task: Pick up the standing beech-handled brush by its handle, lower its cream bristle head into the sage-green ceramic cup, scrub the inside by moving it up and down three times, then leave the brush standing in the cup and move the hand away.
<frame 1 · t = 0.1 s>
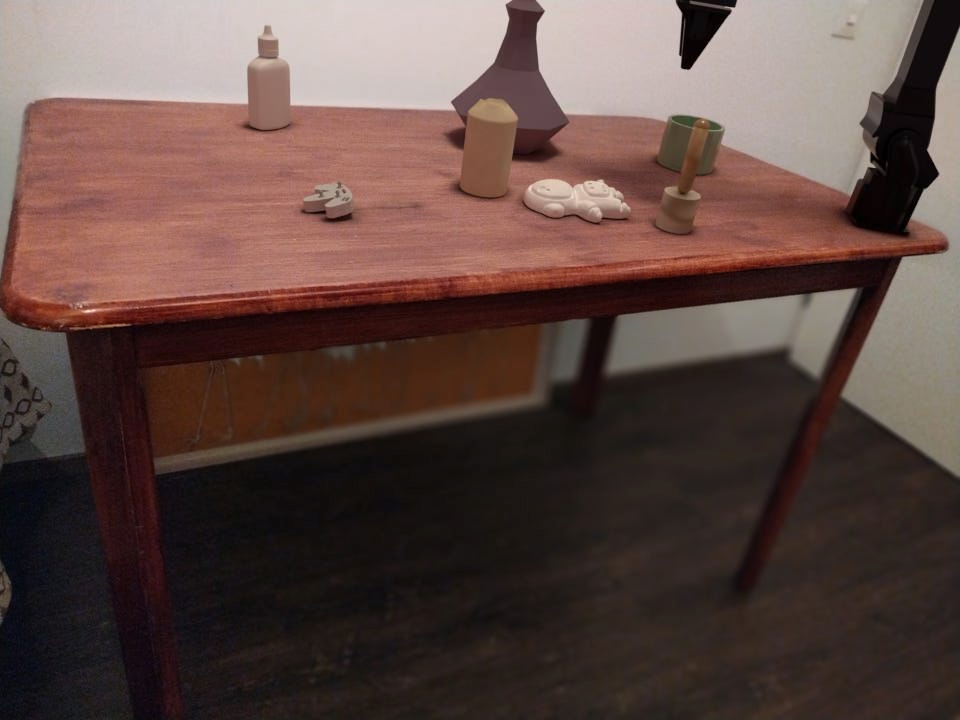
hand: (684, 62, 89), 15 cm above the table, tool pointing down, fingers open, 9 cm apart
purple faceted vase: (505, 144, 102), on the table
eye dropper bottle: (270, 127, 95), on the table
scrub cup: (684, 165, 104), on the table
astronaut figurine: (576, 209, 84), on the table
candle: (482, 190, 85), on the table
game controller: (362, 211, 75), on the table
brush: (672, 226, 83), on the table
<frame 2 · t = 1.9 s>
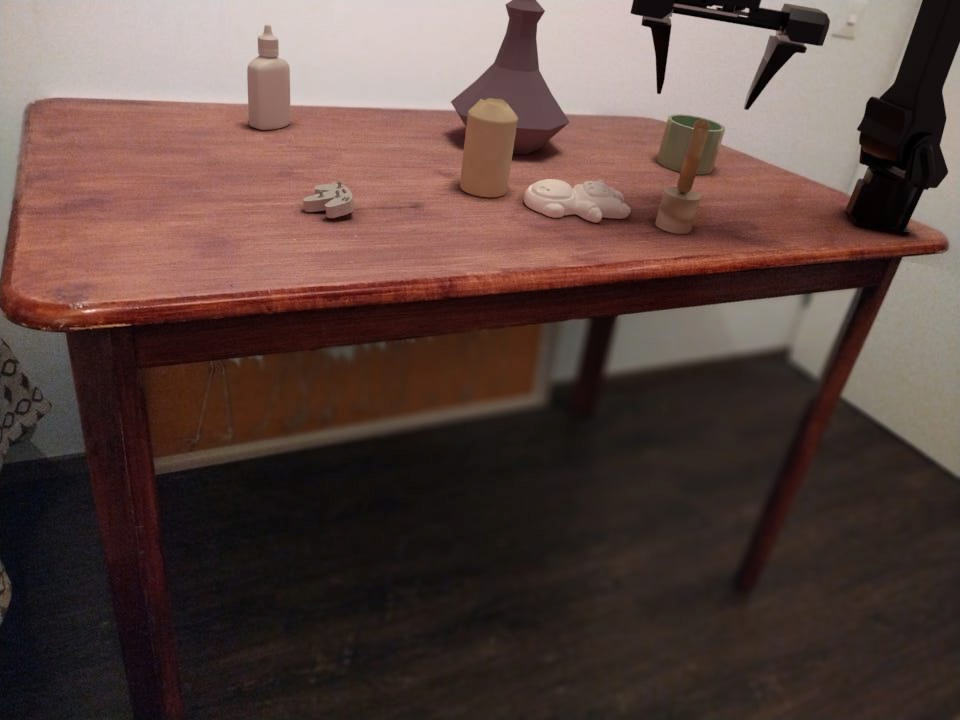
hand: (701, 101, 78), 13 cm above the table, tool pointing down, fingers open, 9 cm apart
nothing on the table moved.
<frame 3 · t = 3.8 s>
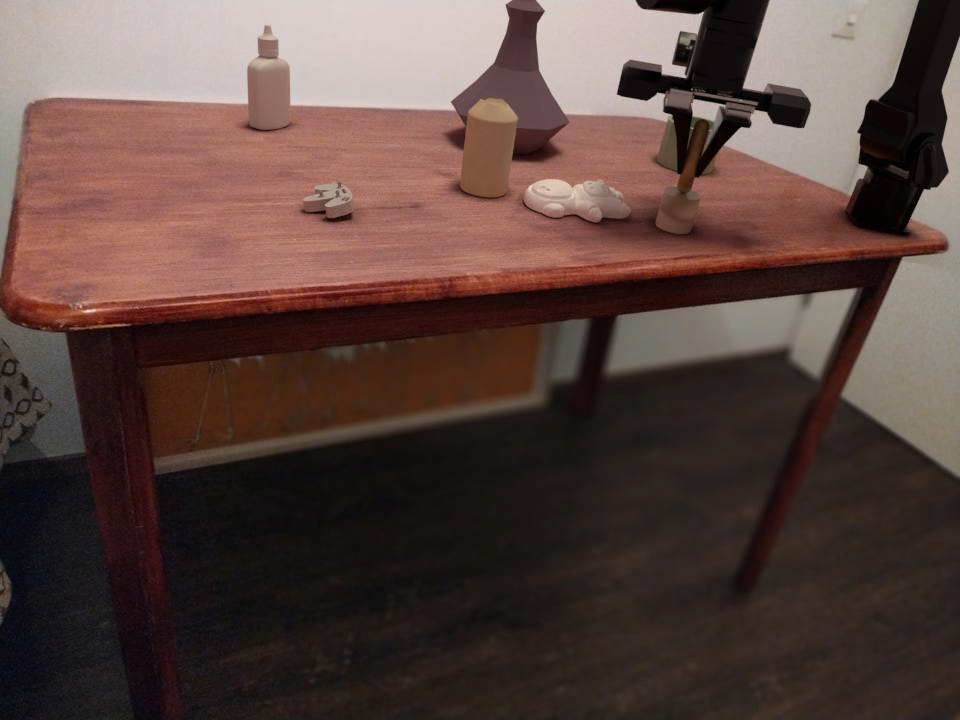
hand: (687, 174, 80), 6 cm above the table, tool pointing down, fingers closed on brush
brush: (672, 226, 83), on the table, touching gripper
everything else where it was.
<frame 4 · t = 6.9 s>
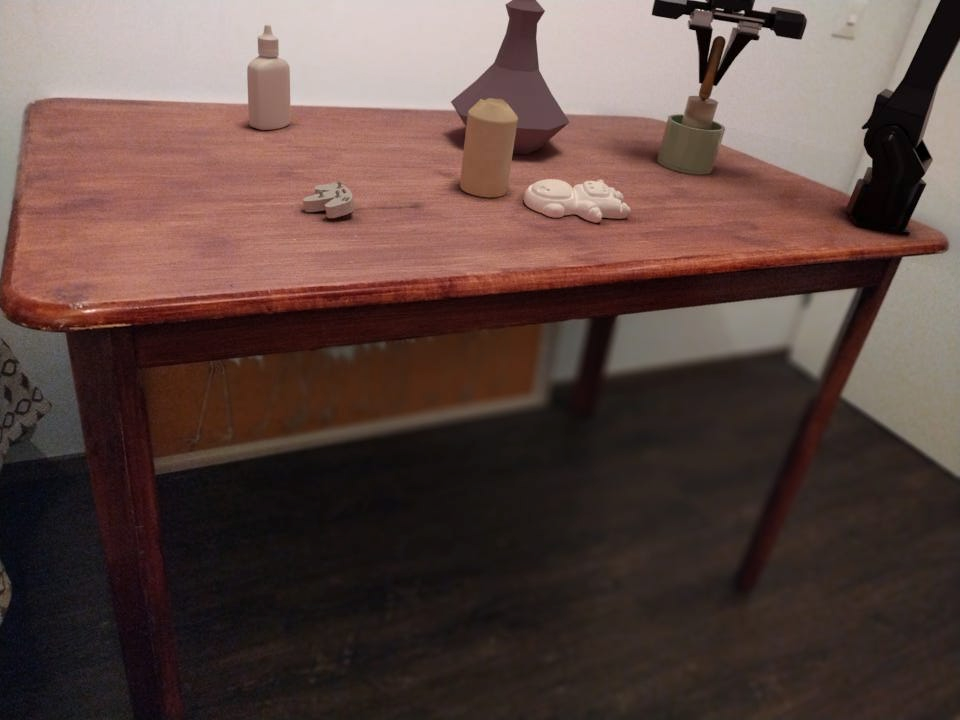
hand: (707, 84, 98), 11 cm above the table, tool pointing down, fingers closed on brush
brush: (694, 129, 101), point 5 cm above the table, touching gripper
everything else where it was.
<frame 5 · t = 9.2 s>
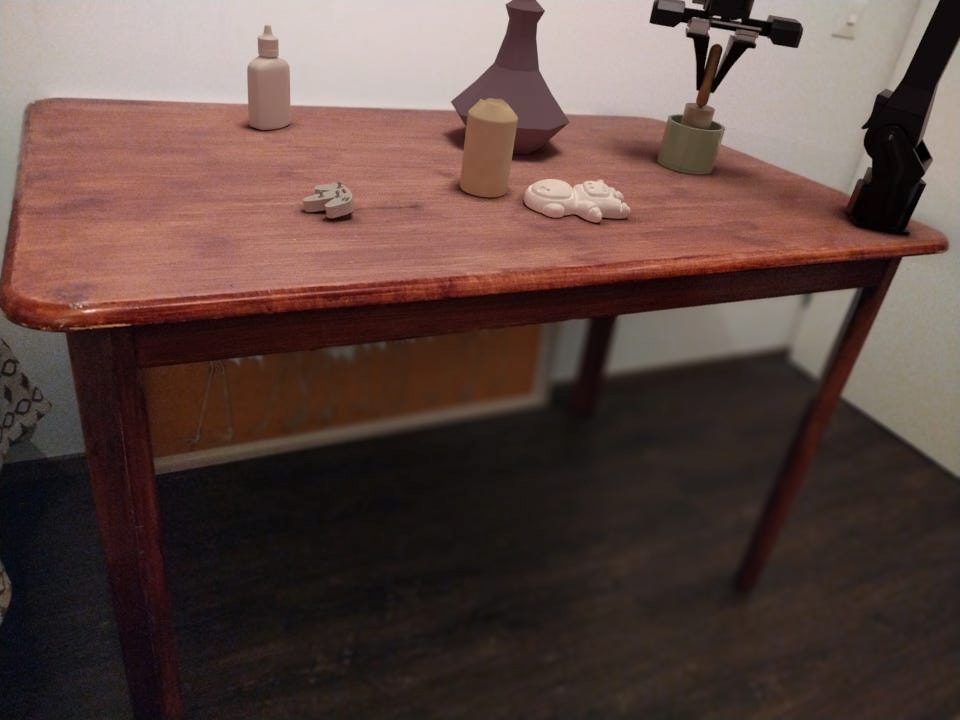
hand: (704, 91, 99), 10 cm above the table, tool pointing down, fingers closed on brush
brush: (692, 136, 102), point 4 cm above the table, touching gripper
everything else where it was.
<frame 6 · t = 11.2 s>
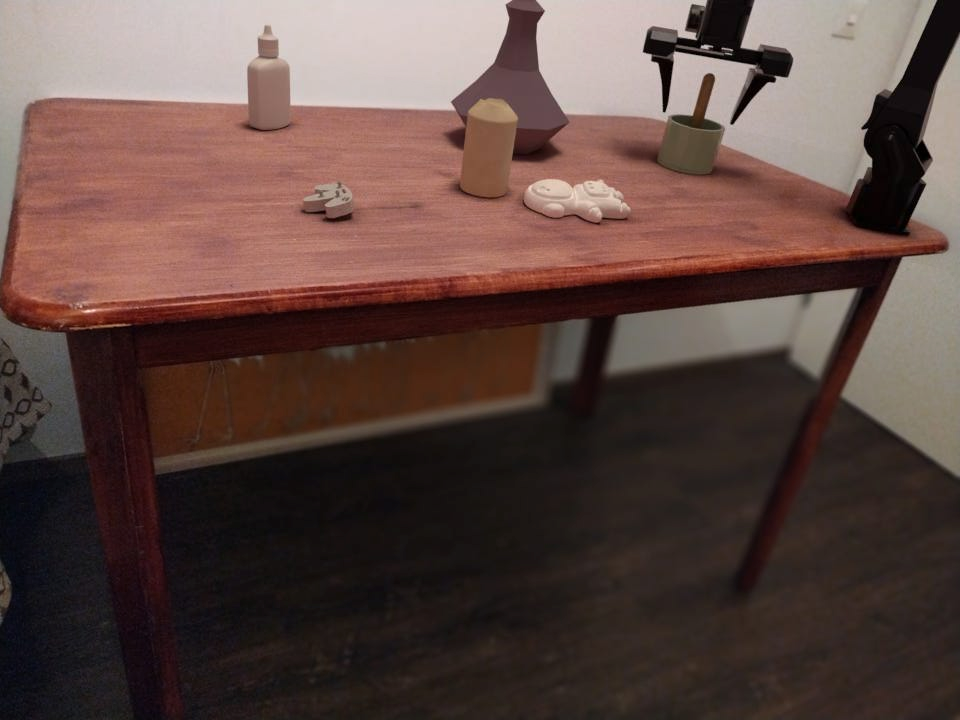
hand: (697, 117, 101), 7 cm above the table, tool pointing down, fingers open, 9 cm apart
brush: (685, 161, 104), resting on scrub cup
everything else where it was.
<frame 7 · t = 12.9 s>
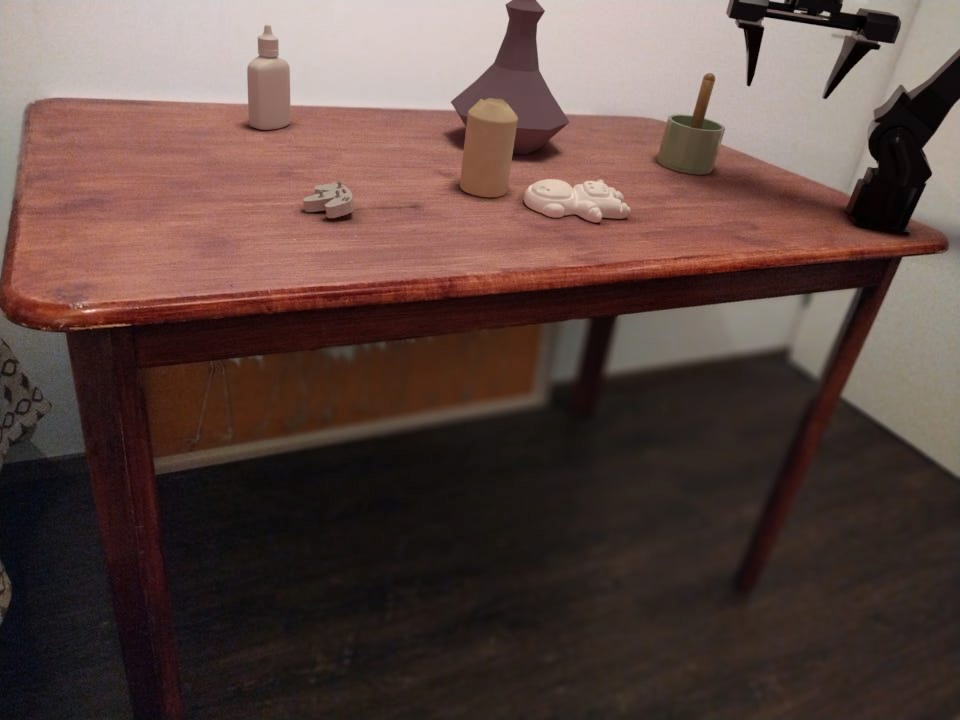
hand: (785, 92, 91), 13 cm above the table, tool pointing down, fingers open, 9 cm apart
nothing on the table moved.
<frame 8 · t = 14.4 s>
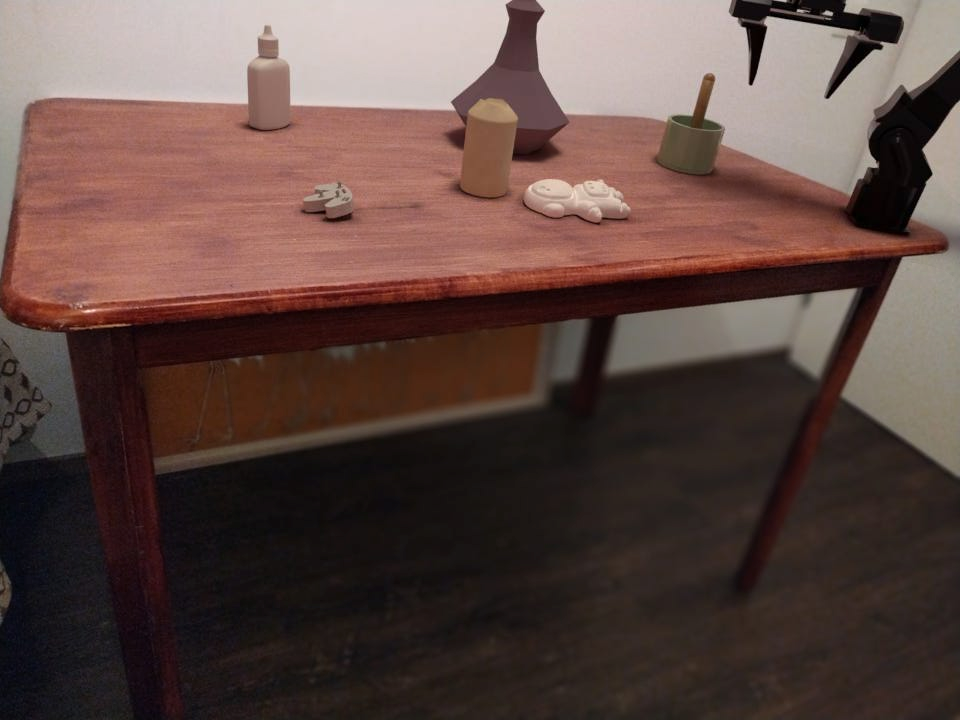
hand: (787, 91, 91), 13 cm above the table, tool pointing down, fingers open, 9 cm apart
nothing on the table moved.
at the end: brush 0.1 cm off-centre in the scrub cup, point 0.5 cm above the scrub cup's base; brush tilted 0°; the gripper is holding nothing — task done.
